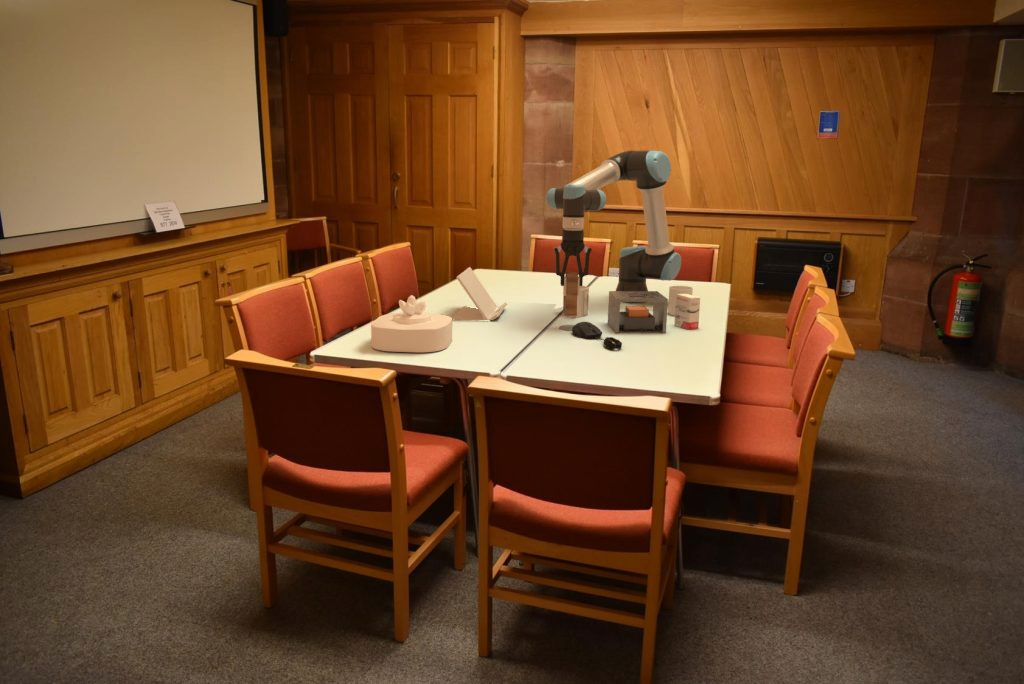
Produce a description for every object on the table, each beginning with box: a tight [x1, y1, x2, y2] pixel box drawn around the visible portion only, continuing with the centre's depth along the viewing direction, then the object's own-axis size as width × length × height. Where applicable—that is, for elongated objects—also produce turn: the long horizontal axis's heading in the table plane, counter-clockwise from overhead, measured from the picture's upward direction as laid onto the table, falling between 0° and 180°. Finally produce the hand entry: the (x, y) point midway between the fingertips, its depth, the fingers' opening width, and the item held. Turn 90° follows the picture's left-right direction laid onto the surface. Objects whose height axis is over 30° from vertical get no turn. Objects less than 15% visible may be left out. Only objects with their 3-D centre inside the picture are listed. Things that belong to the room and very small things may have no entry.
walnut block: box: [564, 271, 579, 317], centre depth 278 cm, size 4×4×15 cm
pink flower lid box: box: [370, 294, 453, 353], centre depth 256 cm, size 25×25×16 cm
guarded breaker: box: [607, 290, 669, 334], centre depth 281 cm, size 16×18×12 cm
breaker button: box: [624, 305, 650, 317], centre depth 281 cm, size 7×7×6 cm
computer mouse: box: [571, 321, 623, 350], centre depth 263 cm, size 8×28×5 cm, turn 27°
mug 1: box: [562, 285, 590, 318], centre depth 302 cm, size 10×12×11 cm
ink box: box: [674, 294, 701, 331], centre depth 284 cm, size 8×5×12 cm, turn 26°
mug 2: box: [667, 285, 694, 317], centre depth 306 cm, size 12×9×11 cm
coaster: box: [558, 324, 575, 332], centre depth 281 cm, size 8×8×1 cm
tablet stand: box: [451, 266, 508, 321], centre depth 302 cm, size 18×25×17 cm
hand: (571, 294), depth 278 cm, fingers closed on walnut block, 4 cm apart
